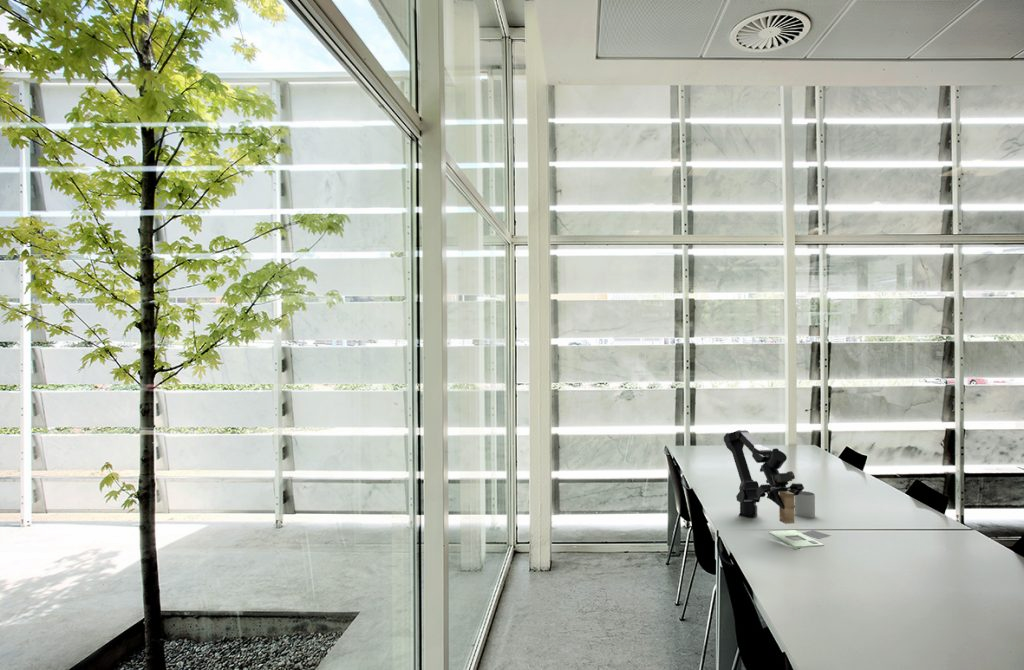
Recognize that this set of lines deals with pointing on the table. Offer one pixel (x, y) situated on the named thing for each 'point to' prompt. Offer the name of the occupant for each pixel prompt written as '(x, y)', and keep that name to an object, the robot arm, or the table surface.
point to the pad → (816, 534)
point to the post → (787, 507)
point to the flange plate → (795, 544)
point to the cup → (805, 504)
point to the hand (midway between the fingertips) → (788, 508)
